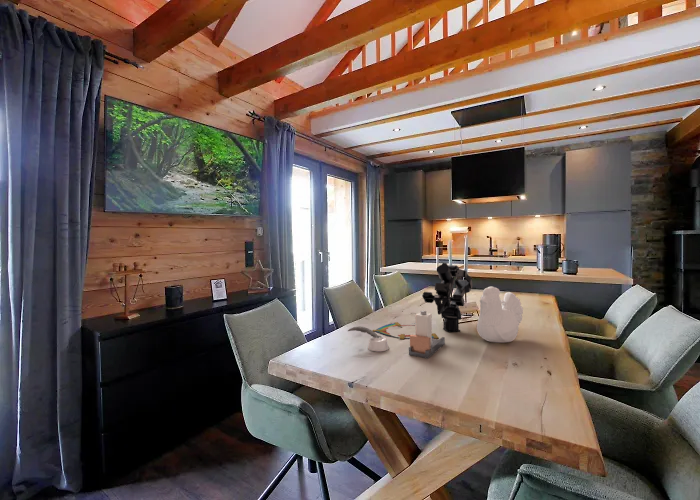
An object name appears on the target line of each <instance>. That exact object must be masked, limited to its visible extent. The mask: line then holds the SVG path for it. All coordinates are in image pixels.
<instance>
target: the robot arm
mask: <svg viewBox="0 0 700 500" xmlns="http://www.w3.org/2000/svg"><path fill="white" fill-rule="evenodd" d="M436 273H437V275H438V277H439V279H440V281H441V282H440V283H439V282H435V284H434V291H435V294H434V295H433V292H431V291H424V292H422V298H423V300H424V302H425V303H427V304H432V303H434V304H435V305H436V308H437V309H436V310H437V314H438V315H441V319H444V320H443V325H442V326H443V327H442V329H443V330H445V331H446V332H448V333H454V332H455V333H456V332H461V329H460V327H459V322H460V320H462V312H461V310H460V307H464V306H465V299H464V296H465V294H467V293H470V291H472V289H473V281H472V278H471V276H470V275H469V274H468V272H467V270H464V269H461V268H460V267H459V266H458V265H455V264H454V265H452V264H451V265H449V264H448V263H447V262H442V264H440V265H438V266H437V268H436ZM458 278H464V279H458ZM454 285H455V288H456V289H455V291H454V292H453V287H454Z"/></svg>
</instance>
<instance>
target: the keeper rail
mask: <svg viewBox="0 0 700 500" xmlns="http://www.w3.org/2000/svg"><path fill="white" fill-rule="evenodd" d="M409 335H410V337H409V338H410V339H409V347H408V355H409V356H413V357H414V356H415V357H419V358H423V359H429V358H430V357H431V356H433V355H434V354H435V353H436V352H437V351H439V350H440V349H441V348H442V347H443V346H444V345H446V341H445V340H446V339H445V337H444V336H442V337H440V338H439V339H434V338H432V346H431V338H430V337H424V336H418V335H416V334H409Z"/></svg>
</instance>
